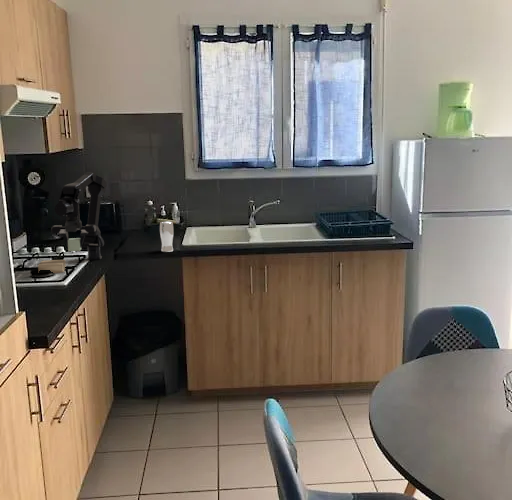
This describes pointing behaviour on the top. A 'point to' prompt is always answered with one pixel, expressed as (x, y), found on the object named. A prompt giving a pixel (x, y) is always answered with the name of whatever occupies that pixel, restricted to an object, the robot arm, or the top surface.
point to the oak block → (53, 265)
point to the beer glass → (166, 236)
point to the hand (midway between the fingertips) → (74, 247)
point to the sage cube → (74, 244)
